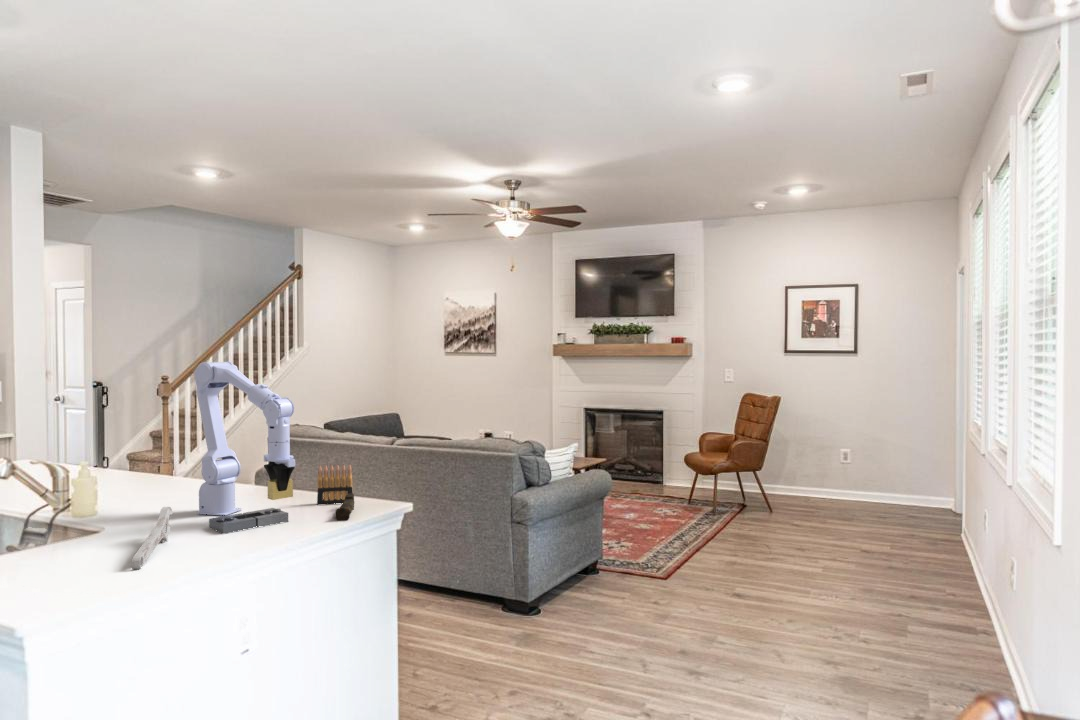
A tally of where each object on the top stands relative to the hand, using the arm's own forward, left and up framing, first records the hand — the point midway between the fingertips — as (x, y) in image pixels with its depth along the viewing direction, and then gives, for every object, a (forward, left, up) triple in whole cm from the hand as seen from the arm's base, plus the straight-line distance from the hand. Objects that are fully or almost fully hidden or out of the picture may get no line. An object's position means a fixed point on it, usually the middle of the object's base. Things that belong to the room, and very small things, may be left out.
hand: (279, 489), depth 211 cm
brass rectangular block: (0, 0, -2) cm, 2 cm away
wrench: (-10, -36, -9) cm, 38 cm away
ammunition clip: (+5, +22, -9) cm, 24 cm away
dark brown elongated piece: (+14, +11, -9) cm, 20 cm away
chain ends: (-4, -8, -8) cm, 12 cm away
